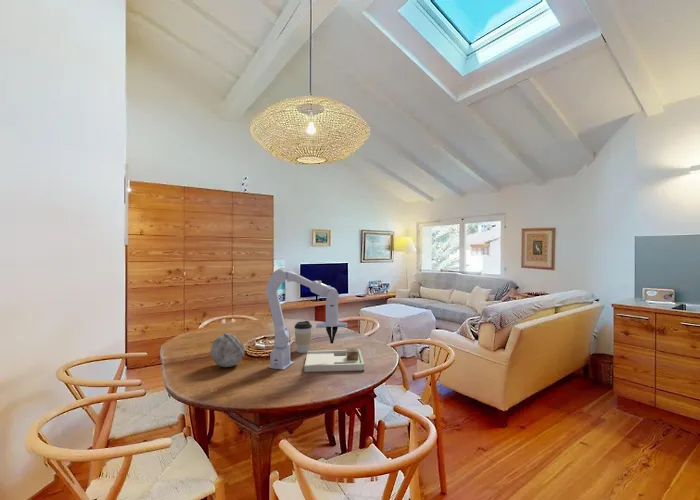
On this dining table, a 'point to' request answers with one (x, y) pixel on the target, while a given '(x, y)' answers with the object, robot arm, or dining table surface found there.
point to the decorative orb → (227, 350)
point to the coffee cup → (303, 336)
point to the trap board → (332, 361)
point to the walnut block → (352, 354)
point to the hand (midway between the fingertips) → (331, 342)
